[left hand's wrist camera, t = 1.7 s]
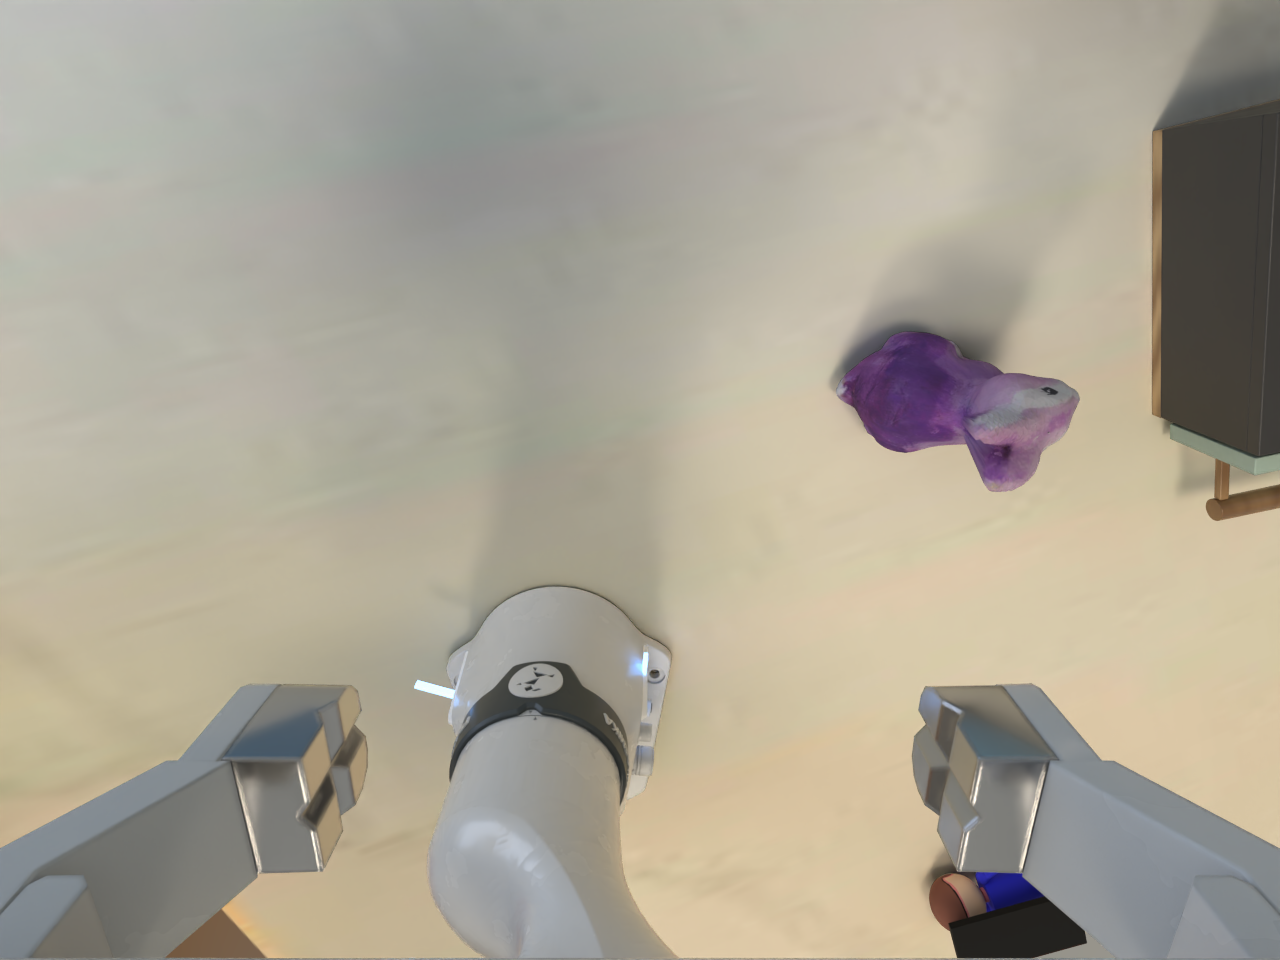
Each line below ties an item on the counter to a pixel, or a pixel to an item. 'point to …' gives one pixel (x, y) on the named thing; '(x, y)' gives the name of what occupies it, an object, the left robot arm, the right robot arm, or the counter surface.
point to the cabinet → (1218, 277)
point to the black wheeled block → (1001, 917)
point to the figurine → (958, 406)
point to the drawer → (1226, 456)
